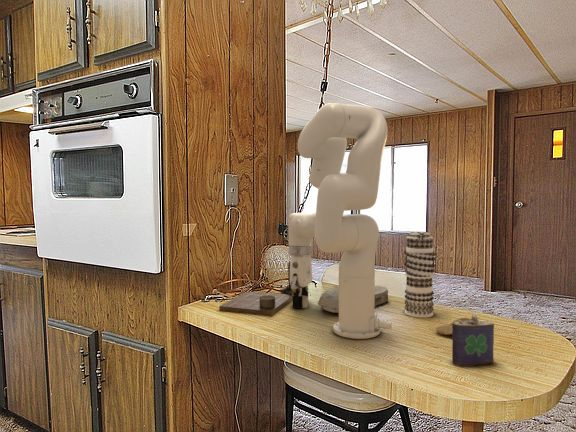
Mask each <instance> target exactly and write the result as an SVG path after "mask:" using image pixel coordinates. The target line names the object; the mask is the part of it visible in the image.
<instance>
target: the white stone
mask: <svg viewBox="0 0 576 432" xmlns="http://www.w3.org/2000/svg"><path fill="white" fill-rule="evenodd" d="M301 296H302V308H301V309H306V308H308V307H309V296H308V297H307V296H304V295H301Z"/></svg>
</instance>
